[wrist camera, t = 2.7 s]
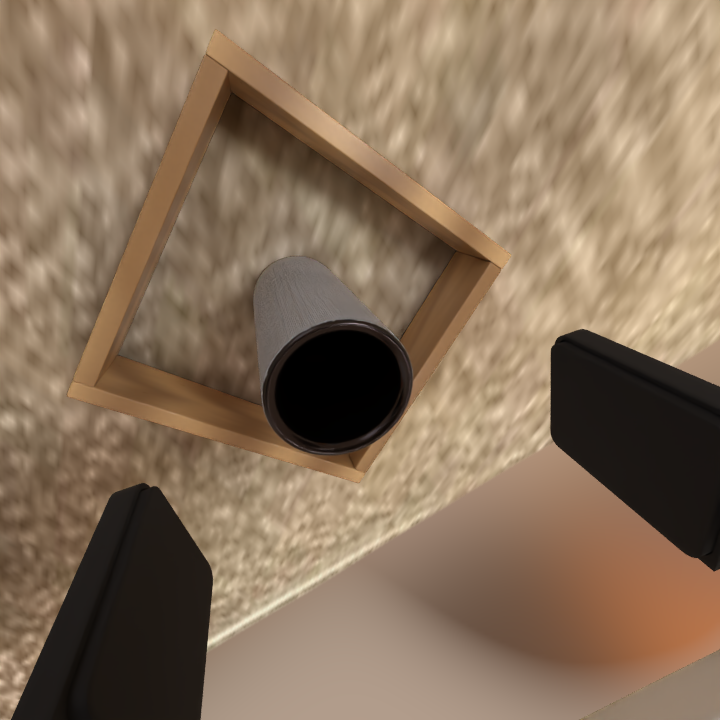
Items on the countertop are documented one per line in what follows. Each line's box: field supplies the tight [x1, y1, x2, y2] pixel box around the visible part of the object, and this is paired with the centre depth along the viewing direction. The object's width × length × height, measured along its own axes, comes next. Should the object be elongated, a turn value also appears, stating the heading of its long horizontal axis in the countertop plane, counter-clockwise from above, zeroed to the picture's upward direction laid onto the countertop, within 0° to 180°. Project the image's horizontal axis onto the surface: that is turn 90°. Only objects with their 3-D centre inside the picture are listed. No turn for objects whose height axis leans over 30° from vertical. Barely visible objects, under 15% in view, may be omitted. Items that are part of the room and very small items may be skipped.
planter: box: [253, 256, 413, 456], centre depth 16 cm, size 4×4×10 cm
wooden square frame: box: [67, 30, 511, 483], centre depth 19 cm, size 15×15×4 cm
